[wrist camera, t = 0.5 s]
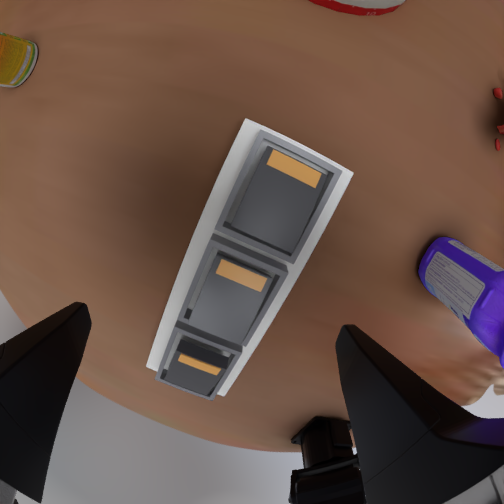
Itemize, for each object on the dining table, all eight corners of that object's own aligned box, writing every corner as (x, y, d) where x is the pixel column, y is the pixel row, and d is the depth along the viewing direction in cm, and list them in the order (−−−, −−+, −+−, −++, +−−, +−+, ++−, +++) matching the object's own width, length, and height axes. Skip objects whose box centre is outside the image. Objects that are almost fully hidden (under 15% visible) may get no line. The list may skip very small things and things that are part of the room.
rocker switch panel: (226, 375, 27) (223, 407, 23) (154, 347, 26) (141, 376, 22) (340, 170, 20) (361, 174, 16) (246, 123, 19) (244, 115, 15)
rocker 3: (288, 251, 18) (293, 253, 17) (230, 224, 17) (230, 225, 16) (321, 177, 17) (327, 175, 16) (264, 149, 17) (268, 144, 16)
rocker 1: (209, 384, 23) (206, 396, 22) (168, 369, 23) (163, 380, 22) (229, 357, 21) (226, 370, 20) (180, 338, 20) (175, 351, 19)
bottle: (403, 274, 23) (522, 405, 7) (433, 222, 22) (582, 315, 5) (444, 300, 24) (541, 408, 8) (471, 255, 23) (586, 342, 6)
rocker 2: (240, 338, 20) (241, 346, 19) (189, 317, 20) (187, 324, 18) (270, 275, 20) (273, 279, 18) (217, 252, 19) (216, 255, 18)
